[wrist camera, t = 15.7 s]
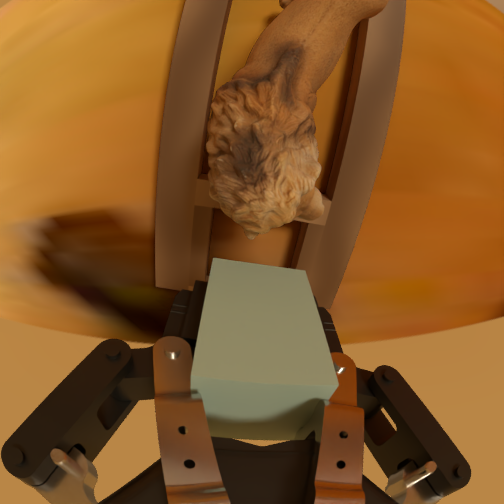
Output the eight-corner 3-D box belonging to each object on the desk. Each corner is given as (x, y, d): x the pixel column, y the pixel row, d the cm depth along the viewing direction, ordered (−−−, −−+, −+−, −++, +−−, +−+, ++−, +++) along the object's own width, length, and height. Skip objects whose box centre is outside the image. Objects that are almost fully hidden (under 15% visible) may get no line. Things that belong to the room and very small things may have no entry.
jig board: (395, 2, 10) (406, -5, 8) (325, 296, 20) (329, 309, 19) (206, -41, 9) (202, -52, 7) (161, 274, 19) (155, 286, 18)
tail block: (305, 270, 12) (338, 384, 7) (283, 334, 14) (297, 440, 9) (213, 257, 12) (190, 375, 6) (206, 325, 14) (190, 433, 8)
